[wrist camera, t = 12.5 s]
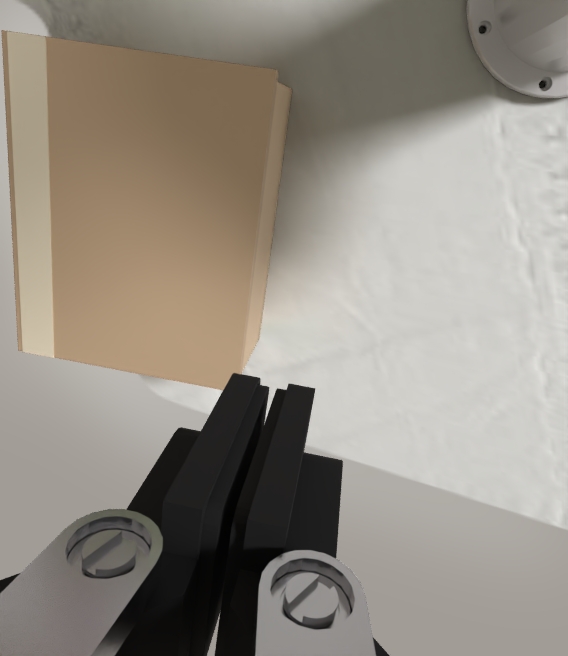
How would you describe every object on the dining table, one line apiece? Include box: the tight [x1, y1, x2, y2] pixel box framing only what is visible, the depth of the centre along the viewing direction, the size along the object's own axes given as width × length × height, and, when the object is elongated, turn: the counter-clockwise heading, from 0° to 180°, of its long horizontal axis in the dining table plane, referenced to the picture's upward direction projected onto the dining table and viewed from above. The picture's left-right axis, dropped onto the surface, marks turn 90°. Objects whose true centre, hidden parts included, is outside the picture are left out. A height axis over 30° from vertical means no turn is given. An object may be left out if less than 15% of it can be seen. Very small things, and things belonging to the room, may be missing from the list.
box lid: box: [2, 30, 279, 390], centre depth 35 cm, size 21×17×1 cm
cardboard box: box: [242, 82, 292, 372], centre depth 39 cm, size 20×16×8 cm
